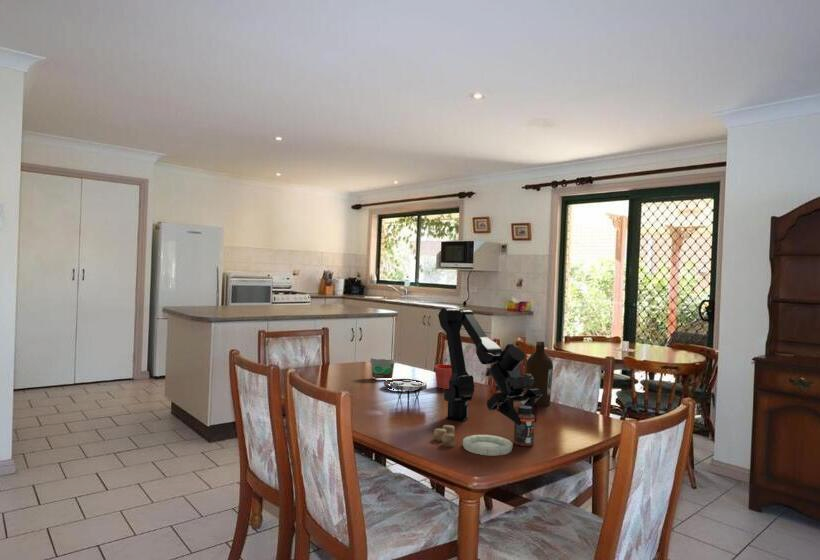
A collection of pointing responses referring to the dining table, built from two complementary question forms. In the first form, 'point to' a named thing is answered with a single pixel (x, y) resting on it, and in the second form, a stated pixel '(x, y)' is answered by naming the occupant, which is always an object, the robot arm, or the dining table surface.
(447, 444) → the wooden bead
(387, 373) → the food container
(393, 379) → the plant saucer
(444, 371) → the flower pot
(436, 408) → the dining table surface
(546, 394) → the olive oil
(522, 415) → the supplement bottle
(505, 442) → the round tray
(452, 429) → the wooden bead
